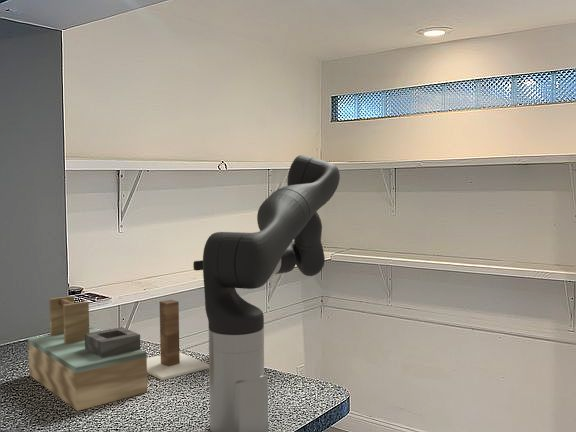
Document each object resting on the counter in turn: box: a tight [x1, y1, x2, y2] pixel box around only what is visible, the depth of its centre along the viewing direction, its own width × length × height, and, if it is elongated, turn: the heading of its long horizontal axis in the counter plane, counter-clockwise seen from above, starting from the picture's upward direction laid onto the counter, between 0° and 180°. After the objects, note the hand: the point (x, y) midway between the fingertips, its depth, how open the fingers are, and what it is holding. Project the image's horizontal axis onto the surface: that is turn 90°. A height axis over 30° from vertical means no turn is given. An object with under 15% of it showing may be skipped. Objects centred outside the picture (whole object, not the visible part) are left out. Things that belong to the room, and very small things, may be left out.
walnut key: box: [159, 299, 181, 366], centre depth 132 cm, size 3×3×14 cm
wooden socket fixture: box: [27, 295, 148, 412], centre depth 122 cm, size 26×14×16 cm, turn 41°
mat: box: [147, 351, 209, 381], centre depth 133 cm, size 14×12×1 cm
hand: (204, 267), depth 138 cm, fingers open, 8 cm apart
